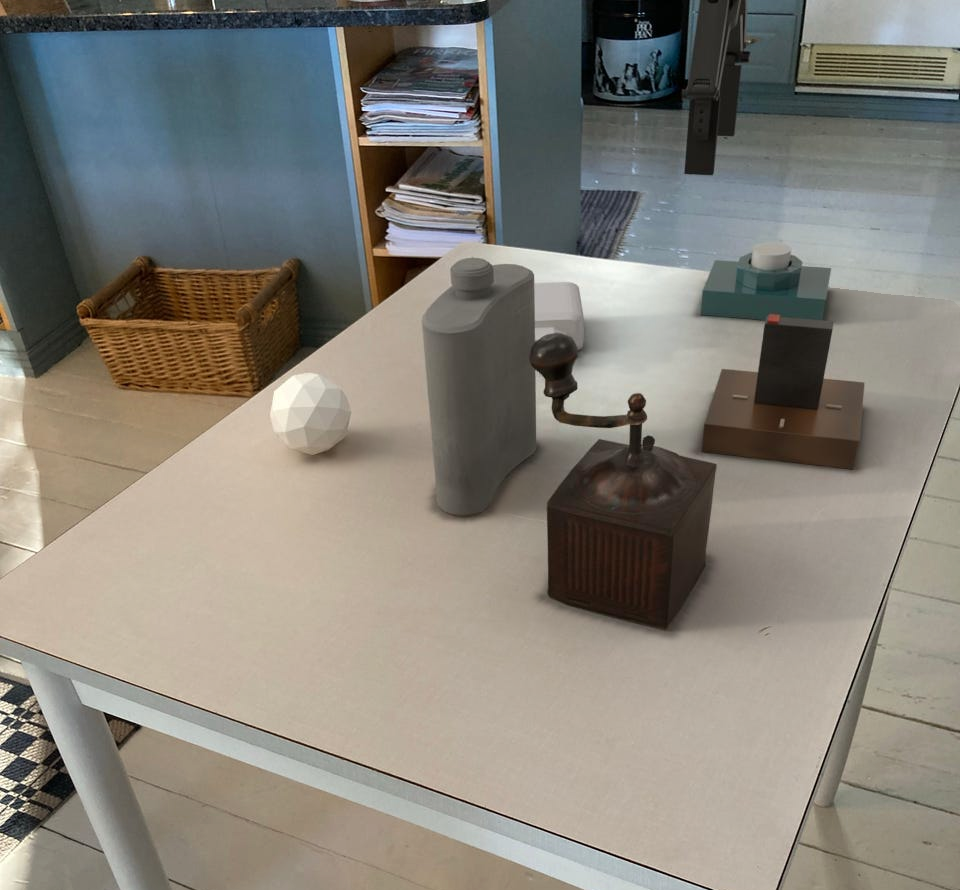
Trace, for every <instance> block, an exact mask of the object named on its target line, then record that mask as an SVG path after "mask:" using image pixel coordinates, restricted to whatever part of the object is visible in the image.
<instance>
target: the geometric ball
mask: <svg viewBox="0 0 960 890" xmlns="http://www.w3.org/2000/svg"><path fill="white" fill-rule="evenodd" d="M347 396H348V395H346V393H345V392H344V391H343V389H342V388H341V387H340V386H339V385H338V384H337V383H335V382H334V380H333V379H332V378H329V377H327V376H324V375H321V374H318V373H314V372H303V373H299V374H293V375H292V376H290V377H289V378H288V379H287V380H286V381H285V382H283V383H282V384H281V385H280V386H278V387H277V388H276V389H275V390H274V391H273V397H272V402H271V408H270V413H269V417H270V421H271V424H272V425H271V426H272V429H273V432H274V433H275V434H276V436H277V437H278V438H279V439H280V440H281V441H282V442H283V443H284V444H285V445H286V446H287V447H288V448H289V449H290V450H294V451H297V452H300V453H304V454H308V455H311V456H315V455H318V454H321V453H324V452H325V453H326V452H328V451H329V450H330V449H332V448H333V447H334V446H336V445H337V444H338V443H339V442H341V441H342V440H343V439H345V438H346V437H347V433H348V429H349V425H350V421H351V415H352V410H351V409H352V408H351V406H350V403H349V400H348V397H347Z"/></svg>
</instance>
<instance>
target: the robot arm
mask: <svg viewBox="0 0 960 890" xmlns="http://www.w3.org/2000/svg"><path fill="white" fill-rule="evenodd" d="M748 3H749V0H699V3H698V10H697V16H696V17H697V18H696V24H695V33H694V38H693V47H692V53H691V60H690V66H689V67H690V68H689V76H688V81H687V86H686V88H685V89H684V88H683V89H682V90H681V101H689V107H688V117H687V119H688V120H687V133H686V147H685V160H684V173H683V174H684V175H695V176H714V173H715V165H716V156H717V155H716V154H717V143H718V137H735V134H736V123H737V114H738V105H739V97H740V96H739V95H740V86H741V77H742V76H741V75H742V66H743V65H742V64H750V59H751V51H750V50H747V45H748V43H747V24H748V6H749V5H748Z"/></svg>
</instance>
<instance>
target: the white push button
mask: <svg viewBox="0 0 960 890" xmlns="http://www.w3.org/2000/svg"><path fill="white" fill-rule="evenodd" d="M751 253H752V259H751V266H752V267H755V268H759V269H762V270H780V269H786V268H788V267H789V262H790V256H791V255H792V248H791V246H790V245H789V244H786V243H783V242H777V241H765V242H758V243H756V244H754V245H753V246H752V251H751Z"/></svg>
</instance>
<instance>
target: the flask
mask: <svg viewBox="0 0 960 890" xmlns="http://www.w3.org/2000/svg"><path fill="white" fill-rule="evenodd" d="M449 270H450V283H451V286H450V287H449V288H447V289H446V290H445V291H444V292H442V293H441V294H440V295H439V296H438V297H437V298H436V299H435V300H434V301H433V302H432V303H431V304H430V305H429V307H428V308H427V309H426V310H425V312H424V313H423V314H422V316H421V317H422V318H421V328H422V329H421V330H422V341H423V354H424V363H425V364H424V365H425V376H426V387H427V388H426V389H427V397H428V398H427V399H428V412H429V422H430V433H431V434H430V435H431V446H432V456H433V469H434V479H435V491H436V493H435V494H436V501H437V502H436V503H437V505H438V507H439V508H440V509H441V510H442V511H444V512H445V513H447V514H450V515H452V516H459V517H466V516H474V515H477V514H480V513H482V512H483V511H484V510H486V509H487V508H488V507H489V506H490V505H491V503H492V500H493V498H494V496H495V494H496V491H498V490H497V489H498V488H499V486H500V485H501V484H502V482H503V481H504V480H505V478H506V477H507V476H509V474H510V473H511V472H512V471H513V470H514V469H515V468H516V467H518V465H520V464H521V463H523V462H524V461H525V460H527V459H528V458H530V457H531V456H533V455H534V454H535V451H536V450H537V391H536V389H537V388H536V387H537V384H536V381H537V380H536V377H537V376H536V370H535V369H534V368H533V367H532V366H531V364H530V360H529V355H530V351H531V347H532V346H533V344H534V343H535V296H534V283H535V273H534V272H533V270H531V269H529V268H528V267H526V266H523V265H520V264H515V263H499V264H498V263H497V264H492V263H490V261H488V260H487V259H484V258H480V257H467V258H462V259H459V260H457V261H456V262H455V263H454V264H452V265H451V267H450V269H449Z"/></svg>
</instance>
